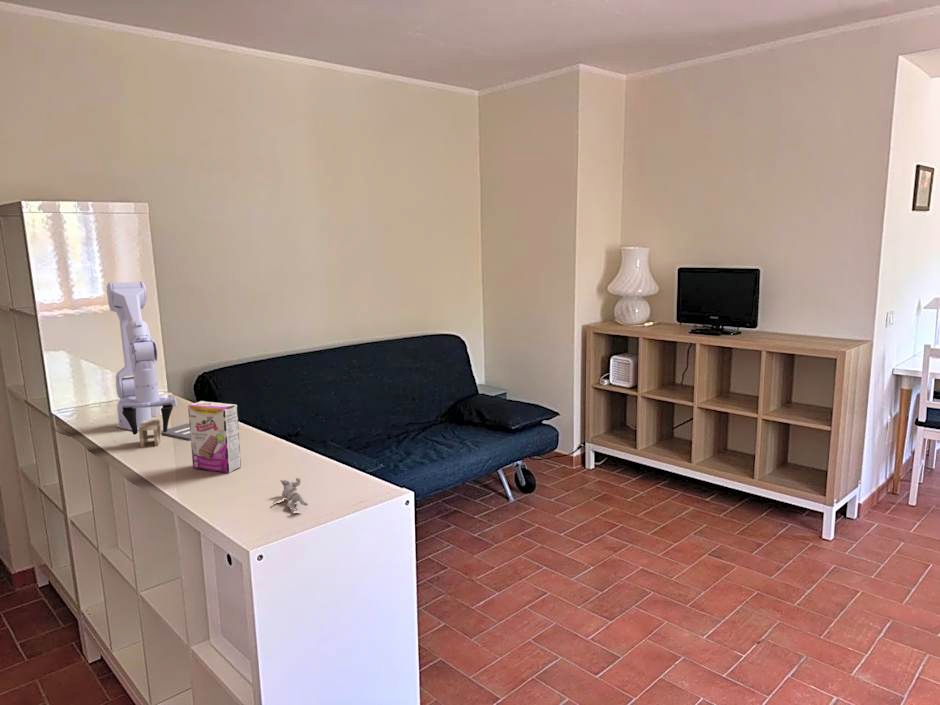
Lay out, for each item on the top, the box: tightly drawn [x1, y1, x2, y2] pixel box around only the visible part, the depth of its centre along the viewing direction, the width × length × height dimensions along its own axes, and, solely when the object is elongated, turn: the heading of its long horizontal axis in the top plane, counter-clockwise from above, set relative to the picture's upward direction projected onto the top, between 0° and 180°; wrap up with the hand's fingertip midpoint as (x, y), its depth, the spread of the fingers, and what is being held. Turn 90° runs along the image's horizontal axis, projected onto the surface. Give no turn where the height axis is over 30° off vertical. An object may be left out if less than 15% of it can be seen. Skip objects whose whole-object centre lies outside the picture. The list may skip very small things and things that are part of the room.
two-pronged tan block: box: [138, 419, 163, 448], centre depth 181 cm, size 4×6×6 cm
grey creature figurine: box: [272, 477, 309, 513], centre depth 138 cm, size 8×5×12 cm
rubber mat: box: [161, 423, 191, 441], centre depth 191 cm, size 14×10×1 cm
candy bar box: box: [187, 400, 242, 474], centre depth 159 cm, size 11×5×16 cm, turn 71°
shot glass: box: [151, 391, 168, 417], centre depth 212 cm, size 7×7×7 cm
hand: (150, 432), depth 180 cm, fingers open, 7 cm apart
